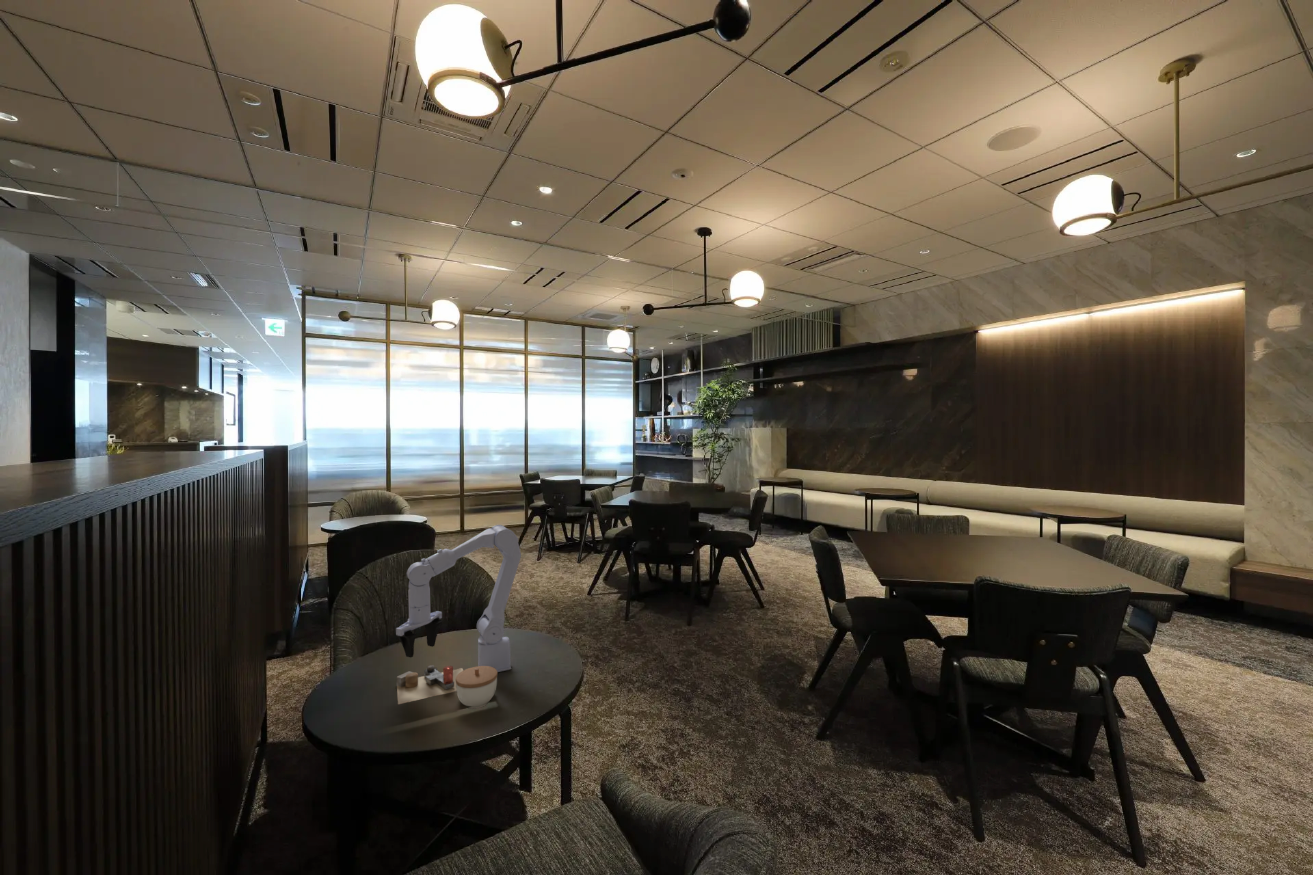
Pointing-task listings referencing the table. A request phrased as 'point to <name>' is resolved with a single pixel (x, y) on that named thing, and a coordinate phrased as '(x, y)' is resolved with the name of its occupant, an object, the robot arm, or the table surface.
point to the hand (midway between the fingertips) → (420, 650)
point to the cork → (411, 680)
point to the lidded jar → (476, 686)
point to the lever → (440, 677)
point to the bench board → (421, 687)
